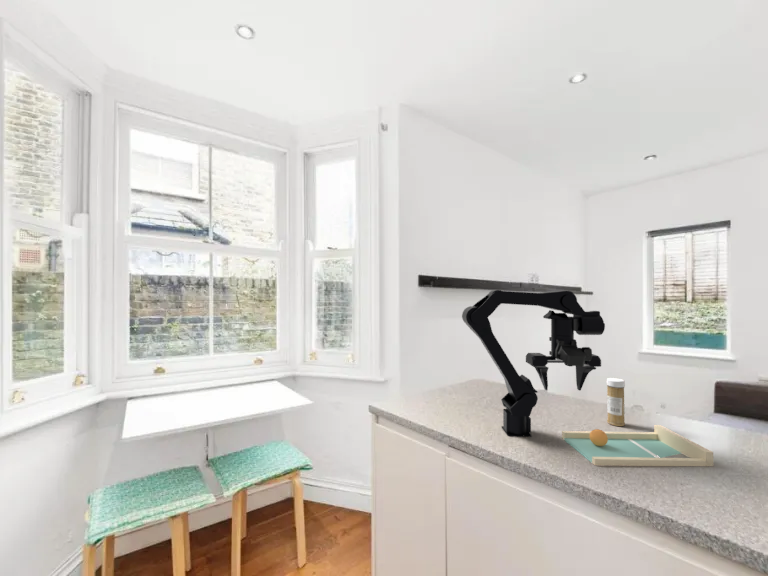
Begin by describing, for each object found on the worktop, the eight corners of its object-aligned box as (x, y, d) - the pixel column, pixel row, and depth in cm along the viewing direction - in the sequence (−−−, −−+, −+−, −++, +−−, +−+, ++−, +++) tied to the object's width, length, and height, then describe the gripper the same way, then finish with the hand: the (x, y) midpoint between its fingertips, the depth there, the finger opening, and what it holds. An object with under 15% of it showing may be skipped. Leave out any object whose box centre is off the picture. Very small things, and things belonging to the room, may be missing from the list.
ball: (606, 435, 87) (602, 450, 87) (611, 432, 89) (608, 447, 90) (588, 427, 90) (585, 442, 90) (594, 425, 92) (591, 439, 93)
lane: (594, 467, 80) (594, 450, 80) (562, 438, 95) (562, 423, 95) (713, 470, 79) (713, 452, 79) (660, 439, 94) (660, 425, 95)
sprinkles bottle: (627, 424, 105) (627, 379, 105) (620, 428, 103) (620, 381, 103) (611, 420, 109) (610, 376, 109) (603, 423, 106) (603, 378, 106)
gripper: (540, 338, 92) (540, 398, 92) (613, 339, 91) (613, 399, 91) (525, 333, 103) (525, 386, 103) (589, 333, 102) (590, 387, 102)
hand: (562, 389), depth 99 cm, fingers open, 9 cm apart
